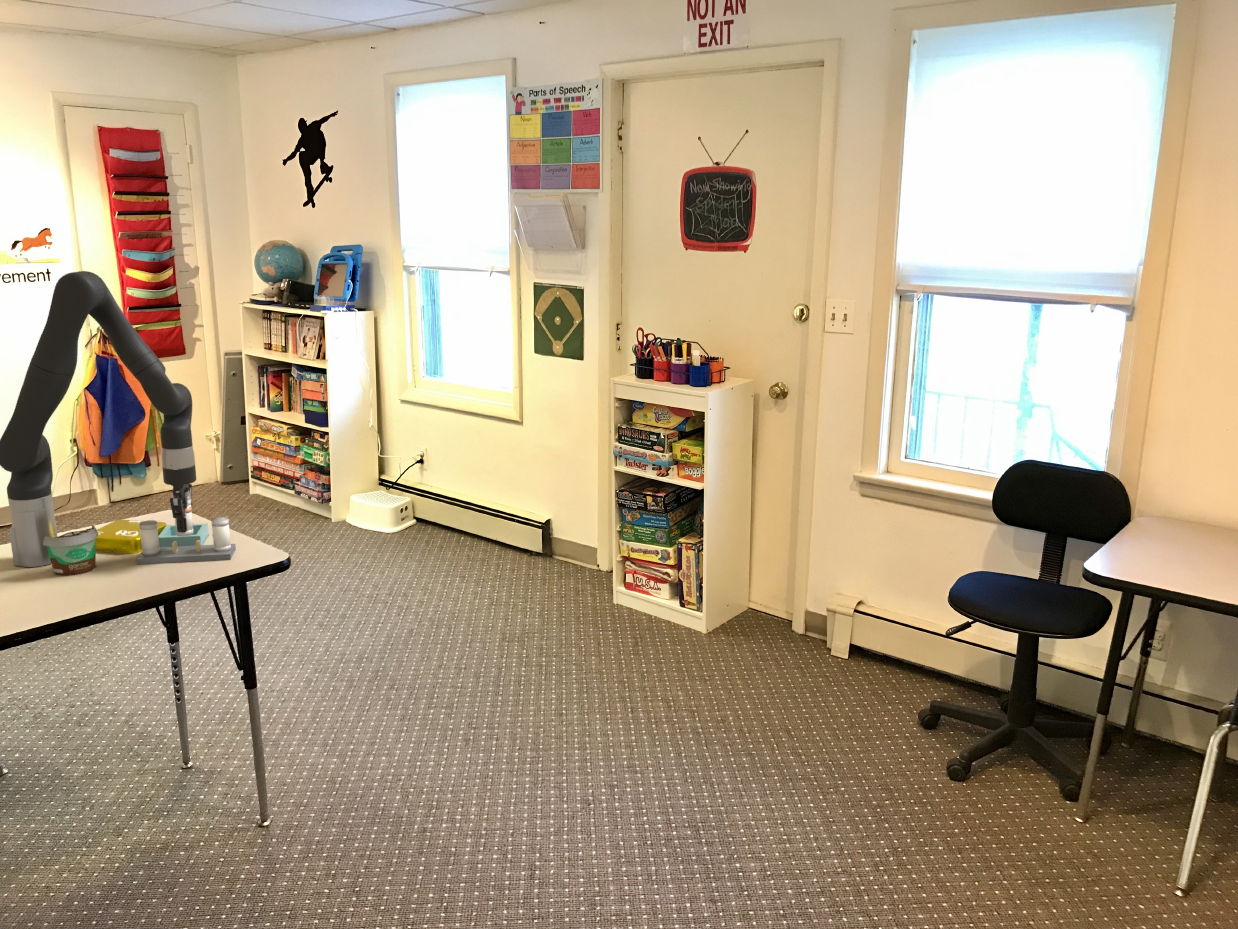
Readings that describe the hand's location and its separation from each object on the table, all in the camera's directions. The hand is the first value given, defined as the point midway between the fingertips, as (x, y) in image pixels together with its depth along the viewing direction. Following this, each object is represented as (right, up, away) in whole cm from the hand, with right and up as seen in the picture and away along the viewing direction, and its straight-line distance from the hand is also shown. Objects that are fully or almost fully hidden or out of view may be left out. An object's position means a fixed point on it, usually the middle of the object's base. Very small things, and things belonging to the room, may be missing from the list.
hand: (184, 528), depth 238 cm
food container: (-21, -10, -10) cm, 25 cm away
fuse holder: (0, -7, +2) cm, 8 cm away
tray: (-5, -5, +12) cm, 14 cm away
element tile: (-20, -5, +11) cm, 23 cm away
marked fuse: (0, -1, 0) cm, 1 cm away
